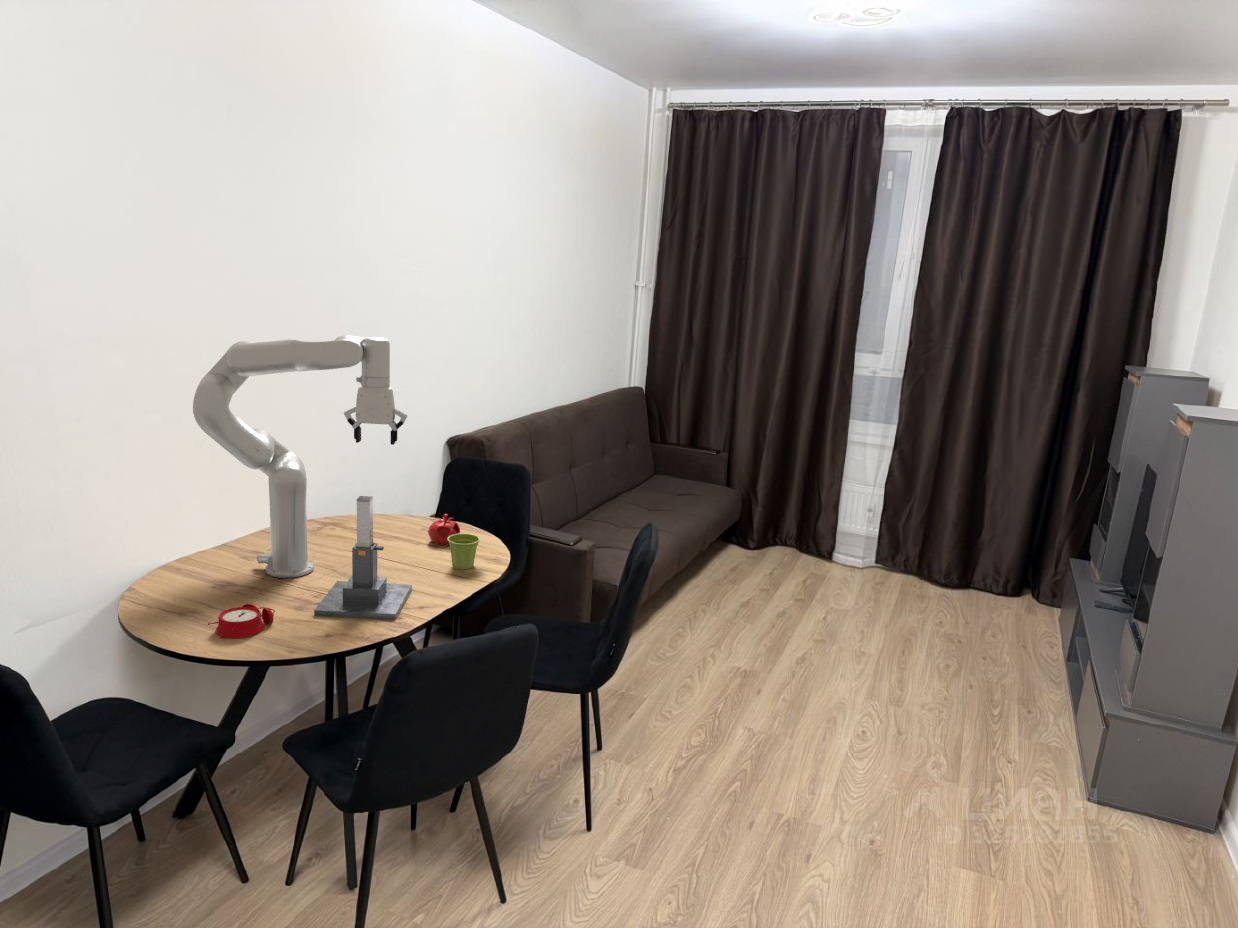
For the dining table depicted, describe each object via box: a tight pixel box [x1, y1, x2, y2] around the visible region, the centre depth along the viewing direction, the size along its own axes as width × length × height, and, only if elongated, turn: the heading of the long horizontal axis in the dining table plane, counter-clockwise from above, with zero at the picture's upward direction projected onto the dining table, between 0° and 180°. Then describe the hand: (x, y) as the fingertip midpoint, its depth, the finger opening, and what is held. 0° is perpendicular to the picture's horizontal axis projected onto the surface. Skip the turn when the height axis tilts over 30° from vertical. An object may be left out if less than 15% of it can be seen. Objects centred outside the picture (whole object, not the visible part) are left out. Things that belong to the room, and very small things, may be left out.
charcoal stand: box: [313, 542, 413, 620], centre depth 221 cm, size 20×20×16 cm
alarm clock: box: [207, 603, 276, 639], centre depth 204 cm, size 10×6×15 cm
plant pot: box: [448, 533, 481, 570], centre depth 252 cm, size 9×9×9 cm
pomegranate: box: [427, 513, 461, 546], centre depth 272 cm, size 10×10×9 cm
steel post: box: [355, 495, 374, 548], centre depth 219 cm, size 3×3×17 cm
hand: (375, 442), depth 242 cm, fingers open, 9 cm apart
